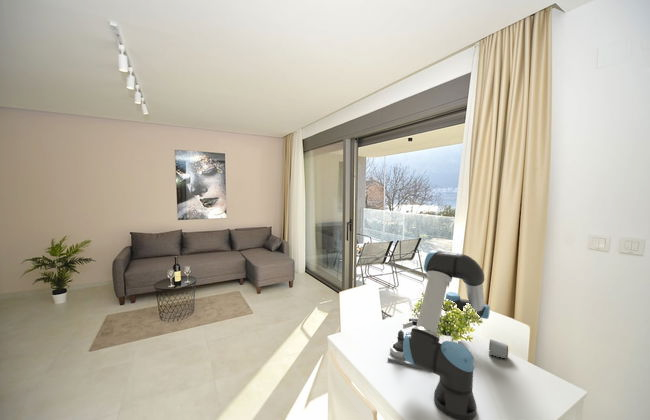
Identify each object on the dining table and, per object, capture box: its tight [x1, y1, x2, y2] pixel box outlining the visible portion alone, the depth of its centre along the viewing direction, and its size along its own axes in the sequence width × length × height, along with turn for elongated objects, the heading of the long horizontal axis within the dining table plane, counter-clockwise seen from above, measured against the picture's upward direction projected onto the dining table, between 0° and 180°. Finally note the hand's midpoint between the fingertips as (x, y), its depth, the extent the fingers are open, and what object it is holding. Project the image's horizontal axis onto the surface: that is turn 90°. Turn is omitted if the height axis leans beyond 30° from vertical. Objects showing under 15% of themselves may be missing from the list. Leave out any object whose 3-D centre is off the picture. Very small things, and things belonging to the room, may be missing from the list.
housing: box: [387, 341, 431, 373], centre depth 135 cm, size 15×20×4 cm
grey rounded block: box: [488, 338, 509, 360], centre depth 139 cm, size 11×8×8 cm
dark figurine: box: [394, 329, 405, 352], centre depth 137 cm, size 6×6×12 cm
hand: (412, 332), depth 140 cm, fingers open, 13 cm apart
